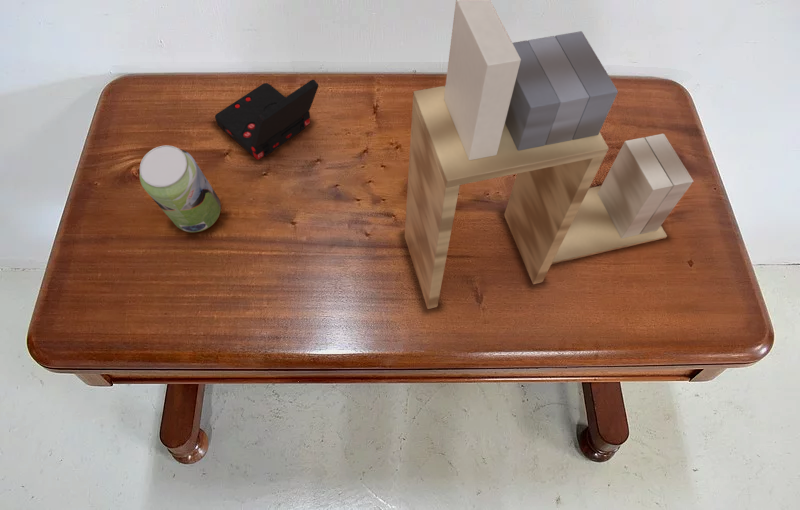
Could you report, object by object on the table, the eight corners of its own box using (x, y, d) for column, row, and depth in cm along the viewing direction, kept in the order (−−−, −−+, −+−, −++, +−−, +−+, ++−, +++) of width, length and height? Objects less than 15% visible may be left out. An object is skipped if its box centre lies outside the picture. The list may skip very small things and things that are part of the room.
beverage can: (227, 195, 76) (202, 130, 65) (216, 246, 72) (188, 186, 62) (176, 193, 76) (144, 128, 65) (163, 244, 72) (126, 183, 61)
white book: (496, 155, 49) (521, 59, 40) (468, 160, 49) (487, 65, 40) (469, 93, 52) (487, -7, 44) (443, 98, 52) (455, -3, 43)
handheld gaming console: (269, 88, 85) (256, 29, 76) (327, 135, 81) (321, 79, 72) (214, 124, 81) (194, 67, 73) (273, 175, 77) (259, 121, 69)
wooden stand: (542, 282, 71) (631, 104, 45) (427, 309, 68) (453, 138, 43) (512, 213, 75) (578, 17, 50) (404, 236, 73) (415, 44, 48)
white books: (665, 238, 74) (705, 186, 65) (544, 266, 72) (567, 216, 63) (633, 180, 78) (666, 125, 69) (517, 205, 76) (535, 151, 67)
